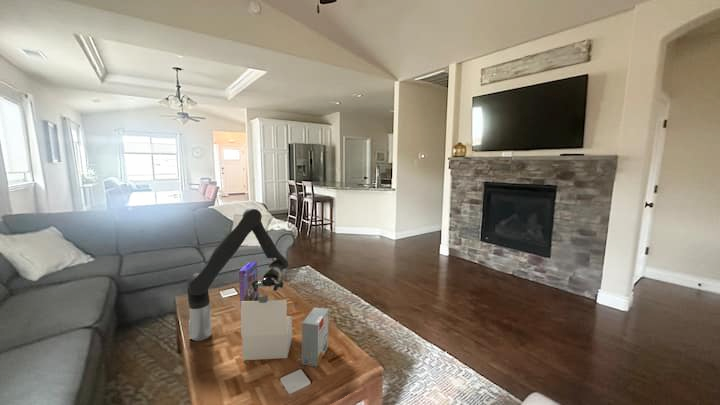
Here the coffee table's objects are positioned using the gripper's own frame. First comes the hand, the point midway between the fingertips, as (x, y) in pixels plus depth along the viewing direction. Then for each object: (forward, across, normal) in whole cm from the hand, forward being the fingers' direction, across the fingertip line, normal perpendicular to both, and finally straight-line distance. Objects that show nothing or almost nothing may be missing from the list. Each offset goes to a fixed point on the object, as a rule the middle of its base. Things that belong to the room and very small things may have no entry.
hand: (265, 289), depth 132 cm
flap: (+3, 0, +10) cm, 11 cm away
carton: (-4, 0, +32) cm, 32 cm away
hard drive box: (+3, +23, +32) cm, 40 cm away
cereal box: (-55, -23, +32) cm, 68 cm away
